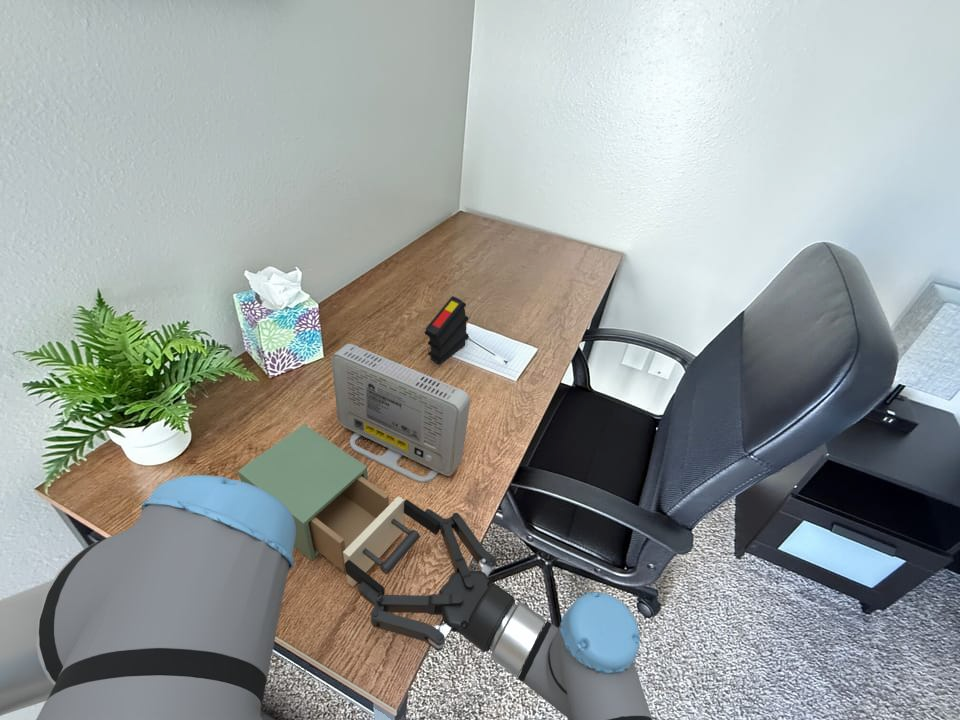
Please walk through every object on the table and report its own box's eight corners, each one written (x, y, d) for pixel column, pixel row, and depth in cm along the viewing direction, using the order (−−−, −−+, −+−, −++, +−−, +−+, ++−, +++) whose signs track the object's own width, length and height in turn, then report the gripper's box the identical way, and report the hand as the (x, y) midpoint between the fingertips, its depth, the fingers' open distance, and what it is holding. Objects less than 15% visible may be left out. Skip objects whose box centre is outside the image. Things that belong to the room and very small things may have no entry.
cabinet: (369, 505, 80) (367, 466, 74) (311, 561, 72) (303, 523, 65) (311, 463, 86) (304, 423, 79) (250, 510, 77) (237, 471, 70)
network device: (466, 462, 90) (477, 386, 78) (444, 495, 84) (452, 418, 71) (357, 412, 97) (352, 334, 85) (329, 439, 91) (319, 359, 78)
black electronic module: (474, 335, 120) (464, 300, 108) (445, 374, 116) (431, 342, 103) (463, 329, 122) (451, 294, 109) (433, 367, 117) (418, 335, 104)
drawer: (427, 548, 74) (430, 517, 69) (378, 608, 67) (376, 578, 61) (344, 488, 81) (340, 456, 76) (290, 536, 73) (282, 504, 68)
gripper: (447, 728, 54) (317, 614, 62) (539, 569, 71) (427, 495, 79) (451, 708, 50) (310, 587, 58) (549, 543, 66) (428, 467, 74)
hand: (377, 534), depth 68 cm, fingers closed on drawer, 11 cm apart
